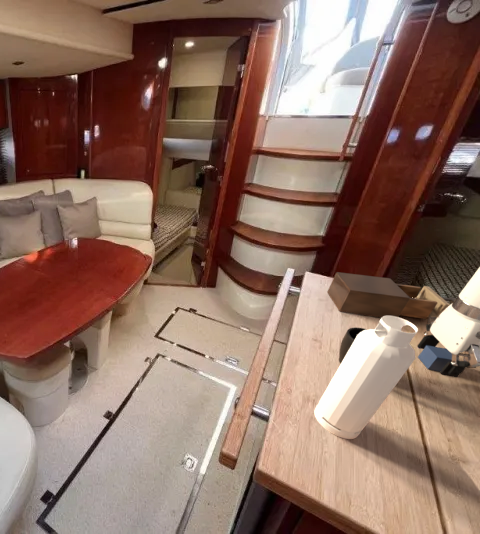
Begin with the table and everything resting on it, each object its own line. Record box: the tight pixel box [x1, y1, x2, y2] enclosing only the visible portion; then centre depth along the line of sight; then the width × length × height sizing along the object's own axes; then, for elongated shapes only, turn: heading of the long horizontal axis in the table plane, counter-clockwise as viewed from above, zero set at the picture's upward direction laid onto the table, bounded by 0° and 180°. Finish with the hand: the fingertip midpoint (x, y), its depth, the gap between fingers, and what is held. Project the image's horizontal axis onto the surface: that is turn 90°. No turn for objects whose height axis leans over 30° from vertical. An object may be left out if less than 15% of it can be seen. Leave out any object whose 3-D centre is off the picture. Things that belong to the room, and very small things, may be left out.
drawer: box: [395, 283, 457, 320], centre depth 97 cm, size 21×10×7 cm, turn 72°
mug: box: [338, 326, 368, 364], centre depth 77 cm, size 8×12×10 cm
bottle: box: [313, 316, 419, 440], centre depth 60 cm, size 8×8×28 cm
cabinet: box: [326, 271, 410, 319], centre depth 101 cm, size 15×12×9 cm
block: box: [417, 345, 452, 372], centre depth 79 cm, size 4×4×4 cm
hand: (435, 361), depth 80 cm, fingers open, 9 cm apart
